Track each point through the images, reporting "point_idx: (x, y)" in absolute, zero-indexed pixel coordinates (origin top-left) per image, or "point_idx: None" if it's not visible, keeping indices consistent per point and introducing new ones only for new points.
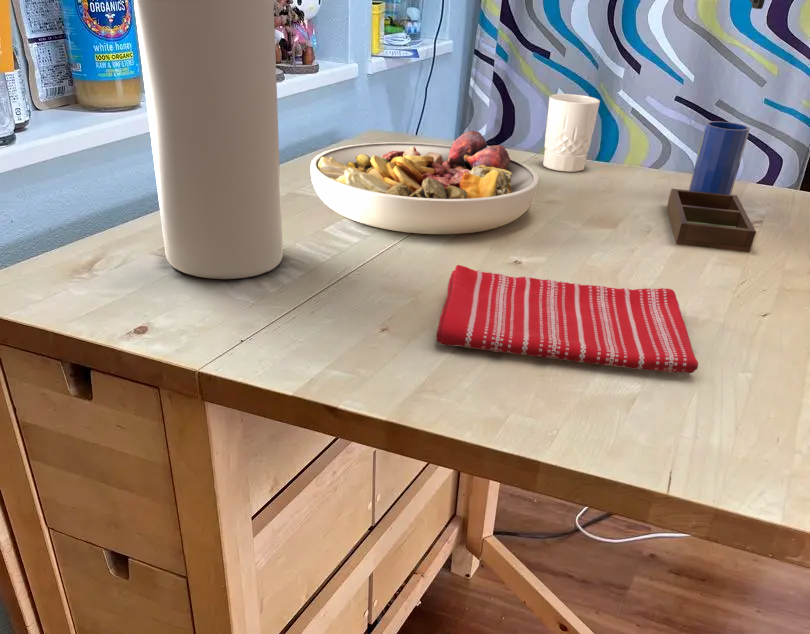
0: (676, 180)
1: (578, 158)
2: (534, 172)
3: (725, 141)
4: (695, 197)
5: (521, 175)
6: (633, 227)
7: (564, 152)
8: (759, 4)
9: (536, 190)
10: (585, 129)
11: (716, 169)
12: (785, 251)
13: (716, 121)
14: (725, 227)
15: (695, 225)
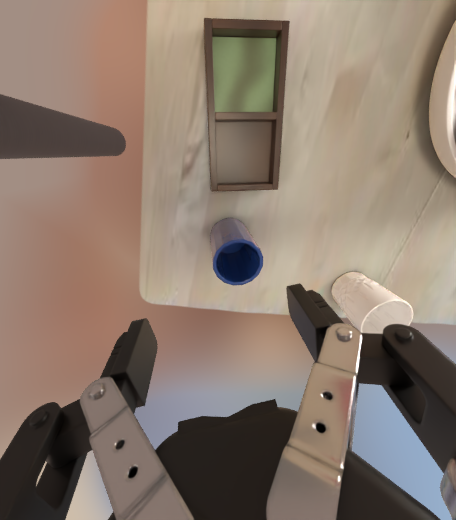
0: (251, 289)
1: (346, 281)
2: (450, 99)
3: (238, 235)
4: (252, 183)
5: (453, 111)
6: (317, 89)
7: (363, 278)
8: (298, 285)
9: (454, 44)
10: (360, 293)
11: (235, 226)
12: (163, 55)
13: (248, 281)
14: (239, 22)
15: (273, 21)
